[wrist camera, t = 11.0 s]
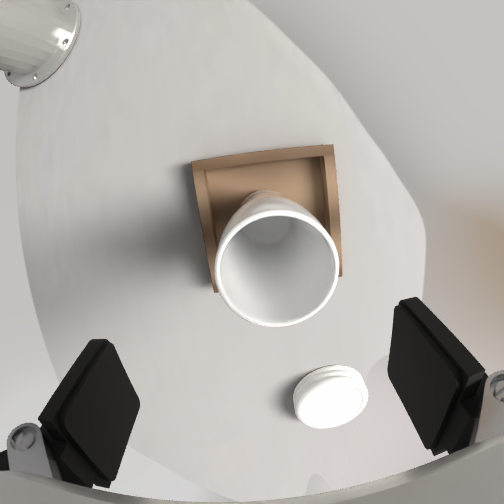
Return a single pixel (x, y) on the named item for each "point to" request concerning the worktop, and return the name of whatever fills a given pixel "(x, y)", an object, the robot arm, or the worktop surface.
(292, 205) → the white tall cup
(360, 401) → the white cup lid
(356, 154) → the worktop surface
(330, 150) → the tray
